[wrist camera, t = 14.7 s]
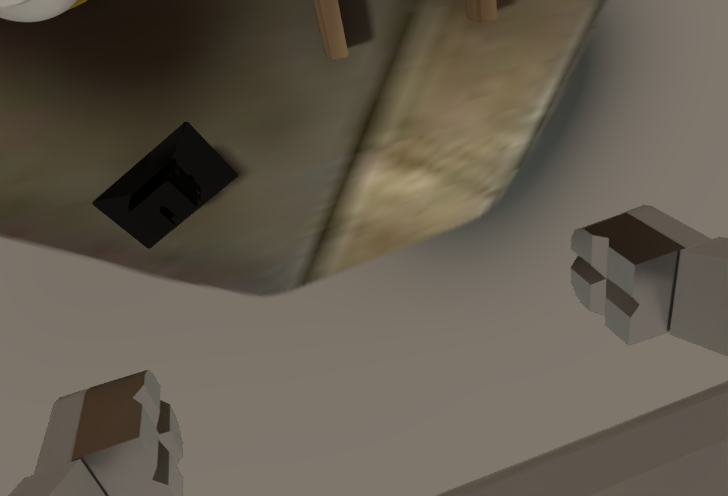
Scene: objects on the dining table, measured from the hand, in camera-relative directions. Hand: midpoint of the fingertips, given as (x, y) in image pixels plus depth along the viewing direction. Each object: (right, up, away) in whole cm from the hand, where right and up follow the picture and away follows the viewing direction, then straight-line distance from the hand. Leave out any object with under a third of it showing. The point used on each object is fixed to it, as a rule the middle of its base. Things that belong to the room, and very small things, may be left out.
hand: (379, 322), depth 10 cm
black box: (-15, +6, +33) cm, 37 cm away
